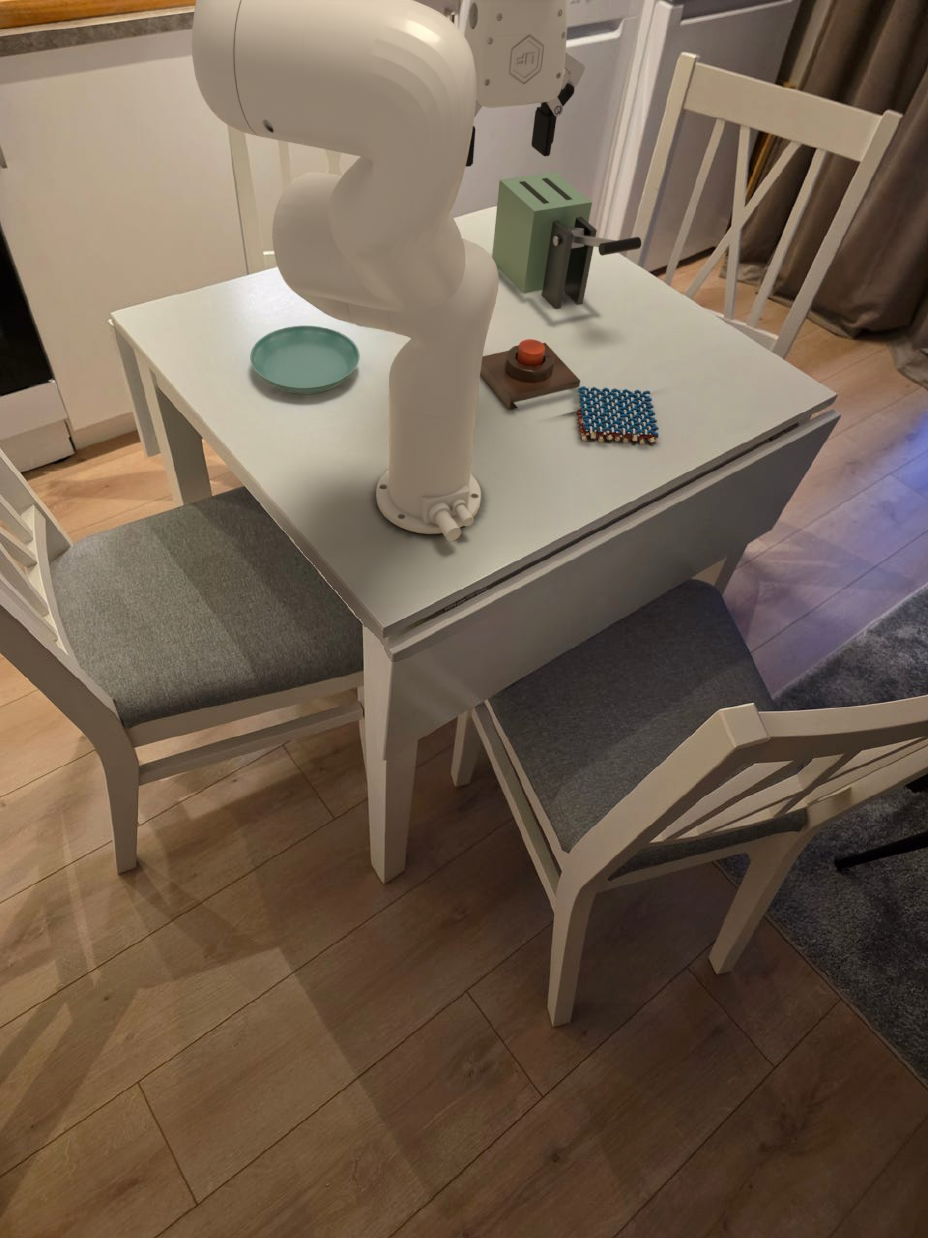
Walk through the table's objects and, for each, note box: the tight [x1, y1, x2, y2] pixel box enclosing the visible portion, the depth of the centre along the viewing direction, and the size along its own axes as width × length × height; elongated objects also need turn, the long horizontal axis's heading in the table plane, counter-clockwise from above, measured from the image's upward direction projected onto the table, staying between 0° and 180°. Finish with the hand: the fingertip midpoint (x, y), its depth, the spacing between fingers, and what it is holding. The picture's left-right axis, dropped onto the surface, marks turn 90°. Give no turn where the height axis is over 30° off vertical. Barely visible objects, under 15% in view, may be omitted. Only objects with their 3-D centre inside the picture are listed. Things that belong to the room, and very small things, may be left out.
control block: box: [480, 342, 581, 411], centre depth 114 cm, size 10×11×4 cm
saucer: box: [249, 325, 361, 395], centre depth 113 cm, size 15×15×3 cm
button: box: [517, 338, 545, 366], centre depth 112 cm, size 4×4×2 cm
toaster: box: [491, 171, 593, 294], centre depth 129 cm, size 11×10×14 cm
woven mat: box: [576, 385, 659, 446], centre depth 111 cm, size 10×11×2 cm
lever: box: [567, 227, 642, 257], centre depth 117 cm, size 14×6×2 cm, turn 25°
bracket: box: [541, 217, 598, 310], centre depth 125 cm, size 8×8×13 cm
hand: (502, 156), depth 91 cm, fingers open, 9 cm apart
